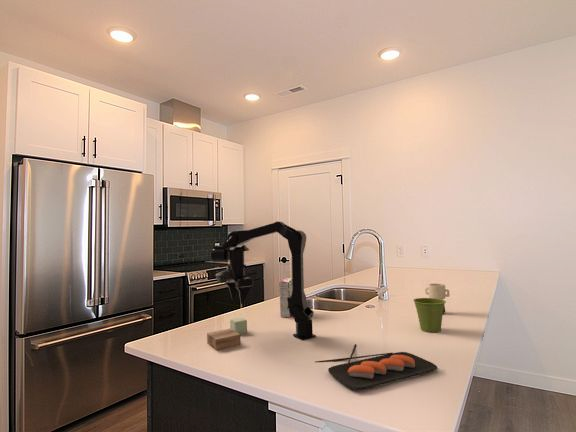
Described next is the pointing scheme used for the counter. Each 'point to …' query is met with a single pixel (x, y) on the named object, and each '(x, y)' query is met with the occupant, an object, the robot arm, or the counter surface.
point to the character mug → (437, 292)
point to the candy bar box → (285, 296)
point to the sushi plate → (379, 369)
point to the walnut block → (223, 339)
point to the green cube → (239, 325)
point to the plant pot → (430, 313)
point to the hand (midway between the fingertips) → (237, 301)
